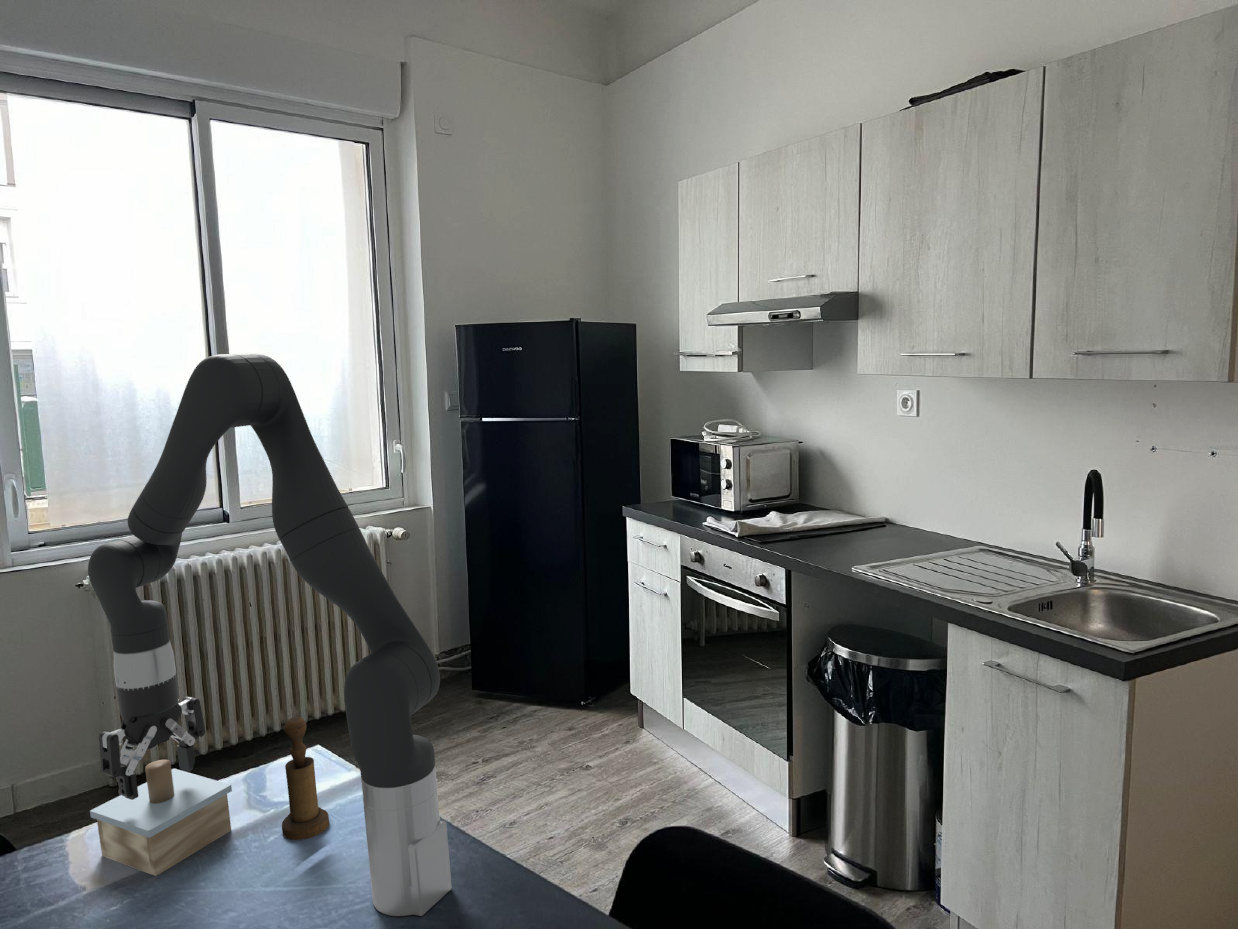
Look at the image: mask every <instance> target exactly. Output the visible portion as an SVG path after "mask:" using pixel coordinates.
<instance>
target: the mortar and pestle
mask: <svg viewBox="0 0 1238 929" xmlns="http://www.w3.org/2000/svg"><path fill="white" fill-rule="evenodd" d="M283 730H284V733H285V735H286V736H287V738H288V739H289V740H290V741H291V747H290V748H289V752H290V755H291V758H292V759H290V760H289V761H287V762H286V764H285V768H284V769H285V776H286V784H287V793H288V804H289V814H288V815H287V816H285V818H284V819H283V821H282V822H281V832H282V836H283V837H284V838H286V839H288V840H291V841H301V840H302V841H303V840H308V839H310V838H313V837H316V836H318V835H320V834H322V833H323V832H325V831H326V830H327V829H328V827H329V825H330V815H329V813H328V811H326V810H325V809H323V808H322V807H320V806H319V801H318V793H317V782H316V781H317V780H316V771H315V770H316V769H315V761H314V760H315V759H314V758H313V757H311V756H306V753H307V745H306V744H304V743H303V739H304V736H305V733H306V731H307V721H305V719H304V718H302V717H301V716H293V717H290V718H289V719H287V721H286V722H285V723H284V728H283Z"/></svg>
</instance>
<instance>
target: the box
mask: <svg viewBox="0 0 1238 929" xmlns="http://www.w3.org/2000/svg"><path fill="white" fill-rule="evenodd" d="M228 798H229V797H228V794H226V795H224V796H223V797H221V798H219V799H217V800H215V801H214V802H212V803H210V804H208V805H207V806H205V807H203V808H201V809H199V810H198V811H196V812H194V813H192V814H191V815H189V816H187V817H185V818H184V819H182V820H180V821H178V822H176V823H175V824H173V825H171V826H169V827H168V828H166V829H164V830H162V831H161V832H159V833H157V834H155V835H153V836H152V837H150V838H148V837H145V836H143V835H140V834H137V833H134V832H131V831H128V830H125V829H123V828H120V827H117V826H114V825H111V824H108V823H105V822H103V821H100V820H97V819H96V824H97V828H98V829H97V831H98V835H99V836H98V837H99V844H100V851H101V856H102V857H105V858H107V859H109V860H112V861H115V862H117V863H120V864H123V865H126V866H128V867H131V868H133V869H136V870H139V871H141V872H144V873H146V874H148V875H152V876H154V877H157V876H159V875H161V874H163V873H164V872H165V871H167V870H169V869H170V868H171V867H174V866H175V865H177V864H178V863H180V862H182V861H183V860H185V859H187V858H188V857H189V856H191V855H194V854H195V853H196V852H198V851H199V850H202V849H204V848H205V847H207V846H208V845H210V844H211V843H213V842H214V841H216V840H218V839H219V838H221V837H223V836H224V835H226V834H227V833H229V832H231V831H232V823H231V816H230V806H229V800H228Z"/></svg>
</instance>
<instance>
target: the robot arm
mask: <svg viewBox="0 0 1238 929" xmlns="http://www.w3.org/2000/svg"><path fill="white" fill-rule="evenodd" d="M248 426H250V427H251V428H252V429H253V431H254V433H255V434H256V436H257V438H258V440H259V442H260V444H261V445H262V448H263V449H264V451H265V454H266V455H267V457H268V461H269V464H270V465H269V466H270V467H271V474H272V476H271V477H272V480H271V481H272V486H271V487H272V491H271V517H272V523H273V527H274V531H275V532H276V535H277V538H278V540H279V541H280V544H281V546H282V547H283V549H284V551H285V553H286V555H287V558H288V559H289V561H290V562H291V564H292V567H293V568H294V570H295V571H296V573H297V574H298V576H300V577H301V579H302V580H303V581H304V582H306V583H307V585H308V586H310V587H312V589H314V590H315V591H316V592H317V593H319V594H320V595H321V596H323V597H324V598H326V599H327V600H328V601H329V602H331V603H332V604H334V605H335V606H337V607H338V608H339V609H340V610H342V611H343V613H345V614H346V615H347V616H348V617H349V618H350V619H351V621H352V622H353V623H354V624H355V626H356V627H357V629H358V630H359V632H360V634H361V635H362V637H363V640H364V641H365V643H366V644H367V647H368V649H369V651H370V654H368V655H366V656H365V657H363V658H361V659H360V660H358V661H357V662H355V663H354V664H352V666H351V667H350V668H349V669H348V671H347V673H346V675H345V680H344V684H343V685H344V686H343V699H344V700H343V701H344V702H343V703H344V709H345V715H346V722H347V730H348V735H349V742H350V748H351V752H352V754H353V758H354V759H355V761H356V763H357V764H358V767H359V771H360V778H361V779H360V780H361V789H362V790H361V791H362V801H363V812H364V822H365V823H364V824H365V833H366V834H365V835H366V843H367V854H368V864H369V866H368V867H369V874H370V886H371V894H372V896H371V898H372V904H373V906H374V907H375V909H376V910H377V911H378V912H380V913H381V914H384V915H387V916H392V917H406V916H411V915H413V916H414V915H415V916H420V917H422V916H424V915H425V914H426V913H427V912H428V911H429V910H430V909H431V908H432V907H433V906H435V905H436V903H438V902H439V901H440V900H442V898H444V896H445V895H446V894H448V892H450V891H451V890H452V886H453V885H452V878H451V877H452V875H451V867H450V866H451V863H450V851H449V838H448V828H447V827H448V826H447V822H446V821H444V820H442V819H441V818H440V808H439V806H440V804H439V795H438V793H439V792H438V782H437V769H436V768H437V767H436V757H435V749H434V745H433V742H431V740H429V739H428V738H426V737H424V736H422V735H418V734H413V727H412V719H411V718H412V717H411V716H412V715H414V714H415V713H416V712H418V711H419V710H420V709H422V708H423V707H425V705H427V704H428V703H430V701H432V699H434V698H435V696H436V695H437V693H438V692H439V689H440V683H441V673H440V670H439V665H438V663H437V660H436V657H435V655H434V654H433V652H432V650H431V648H430V647H429V645H428V644H427V642H426V640H425V639H424V637H423V636H422V634H421V632H420V631H419V630H418V628H417V627H416V625H415V624H414V623H413V620H412V619H411V617H410V616H409V615H408V613H407V612H406V611H405V608H404V607H403V606H402V604H401V603H400V601H399V600H398V598H397V596H396V594H395V592H394V591H393V589H392V588H391V586H390V584H389V582H388V580H387V578H386V576H385V575H384V573H383V571H382V569H381V567H380V566H379V564H378V562H377V560H376V559H375V556H374V555H373V553H372V551H371V549H370V548H369V545H368V544H367V542H366V539H365V537H364V534H363V533H362V530H361V528H360V526H359V525H358V523H357V520H356V519H355V516H354V515H353V513H352V511H351V509H350V508H349V506H348V504H347V502H346V500H345V499H344V497H343V495H342V494H341V492H340V490H339V488H338V486H337V484H336V482H335V481H334V478H333V476H332V475H331V472H330V470H329V468H328V466H327V464H326V462H325V460H324V457H323V455H322V454H321V452H320V449H319V448H318V445H317V444H316V443H317V442H316V441H315V440H314V437H313V434H312V433H311V429H310V427H309V425H308V422H307V420H306V417H305V414H304V412H303V409H302V407H301V405H300V402H299V400H298V397H297V394H296V392H295V390H294V387H293V384H292V382H291V380H290V378H289V377H288V374H287V373H286V371H285V370H284V368H283V367H282V366H281V365H280V364H279V363H278V361H277V360H275V359H273V358H272V357H270V356H268V355H264V354H260V353H228V354H227V353H225V354H224V353H222V354H221V353H220V354H214V355H211V356H207V357H206V358H204V359H202V360H201V361H199V363H198V364H196V366H195V368H194V369H193V370H192V373H191V375H190V376H189V379H188V381H187V383H186V385H185V387H184V390H183V394H182V396H181V399H180V403H179V404H178V408H177V410H176V413H175V416H174V418H173V422H172V424H171V428H170V430H169V434H168V436H167V439H166V440H165V441H166V442H165V445H164V447H163V449H162V452H161V455H160V458H159V460H158V462H157V464H156V466H155V469H154V470H153V472H152V474H151V476H150V477H149V478H148V480H147V482H146V484H145V486H144V487H143V489H142V490H141V493H140V494H139V496H138V497H137V499H136V501H135V502H134V504H133V505H132V508H131V510H130V512H129V514H128V517H127V526H128V529H129V531H130V533H131V534H132V535H131V536H129V537H126V538H122V539H118V540H114V541H110V542H107V543H103V544H102V545H98V546H97V547H96V548H95V549H94V550H93V552H92V553H91V555H90V556H89V557H90V558H89V560H88V564H87V574H88V579H89V582H90V584H91V587H92V589H93V591H94V592H95V596H96V597H97V599H98V602H99V603H100V605H101V608H102V610H103V612H104V614H105V616H106V619H107V620H108V623H109V625H110V626H109V627H110V635H111V642H112V644H111V645H112V650H113V673H114V682H115V689H116V696H117V703H118V710H119V714H120V717H121V719H122V720H121V726H120V728H119V729H115V730H113V731H111V732H110V731H106V730H105V731H102V732H101V733H99V736H98V740H99V743H98V744H99V754H100V758H99V759H100V770H101V774H103V775H105V776H109V777H112V778H117V779H118V780H117V781H118V786H119V793H120V795H122V796H125V797H126V798H128V799H131V800H133V799H135V798H137V797H138V788H137V787H138V782H137V775H136V773H135V770H136V768H137V766H138V763H139V762H140V760H142V759H143V758H144V756H145V754H146V752H147V750H150V749H153V748H155V747H156V746H157V745H159V744H162V743H166V742H168V741H170V738H172V739H173V740H174V741H175V742H177V743H178V745H176V751H177V758H178V765H179V770H181V771H185V772H188V773H189V772H190V771H192V770H193V769H194V766H195V764H196V757H195V756H196V755H195V748H194V744H195V742H196V741H197V739H198V738H199V737H201V738H202V737H203V736H205V734H206V728H205V723H204V716H203V711H202V705H201V701H200V699H199V698H195V697H192V696H185V697H183V698H182V699H181V702H179V701H180V693H179V683H178V677H177V669H176V660H175V653H174V650H173V647H172V643H171V636H170V629H169V628H170V627H169V621H168V614H167V609H166V607H165V605H164V604H163V603H162V602H160V601H157V600H152V599H149V600H147V599H146V600H145V599H144V600H141V598H140V597H139V595H138V592H137V588H140V587H142V586H146V585H148V584H151V583H155V582H157V581H159V580H161V579H162V578H164V577H166V575H167V574H168V573H169V572H170V571H171V570H172V568H173V567H174V565H175V563H176V560H177V558H178V554H179V549H180V546H181V543H182V536H183V533H184V531H185V530H186V528H187V526H188V525H189V524H190V522H191V520H192V519H193V517H194V515H195V514H196V513H197V511H198V509H199V508H200V506H201V504H202V503H203V499H204V496H205V494H206V491H207V462H208V459H209V456H210V454H211V452H212V449H213V448H214V447H215V446H216V444H217V443H218V442H219V440H220V439H221V438H222V437H223V435H225V434H226V432H228V430H230V429H231V428H239V427H248ZM182 715H184V719H185V726H186V729H185V728H184V727H183V726H181V725H180V724H179V721H180V718H181V716H182ZM123 739H125V741H124V743H123V742H122V741H123ZM122 744H123V745H122ZM121 746H122V747H121ZM120 747H121V749H120ZM134 747H136V749H135V750H133V748H134Z"/></svg>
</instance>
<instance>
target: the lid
mask: <svg viewBox="0 0 1238 929" xmlns="http://www.w3.org/2000/svg"><path fill="white" fill-rule="evenodd" d="M144 769H145V771H144V772H145V777H146V782H145V783H141V784H140V785H137V788H138V797H137V798H135V799H133V800H131V799H128V798H126V797H125V796H122V795H121V794H120V795H118V796H115V797H114V798H112V799H111V800H108V801H106V802H105V803H102V804H100V805H98V806H96V807H95V808H92V809H91V810H89V814H90V815H89V816H90V818H92V819H94V820H96V821H97V820H100V821H103V822H105V823H108V824H111V825H114V826H117V827H120V828H123V829H125V830H128V831H131V832H134V833H137V834H140V835H143V836H145V837H148V838H150V837H152V836H153V835H155V834H157V833H159V832H161V831H162V830H164V829H166V828H168V827H169V826H171V825H173V824H175V823H176V822H178V821H180V820H182V819H184V818H185V817H187V816H189V815H191V814H192V813H194V812H196V811H198V810H199V809H201V808H203V807H205V806H207V805H208V804H210V803H212V802H214V801H215V800H217V799H219V798H221V797H223V796H224V795H226V794H227V795H228V794H230V793H232V792H233V789H232V788H233V787H232V784H229V783H226V782H223V781H219V780H216V779H213V778H208V777H205V776H201V775H199V774H194V773H191V772H189V771H188V772H187V771H183V770H181V769H177V768H172V764H171V761H170V760H169V759H159V760H155V761H152V762H150V763H148V764H146V766H145V768H144Z"/></svg>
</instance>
